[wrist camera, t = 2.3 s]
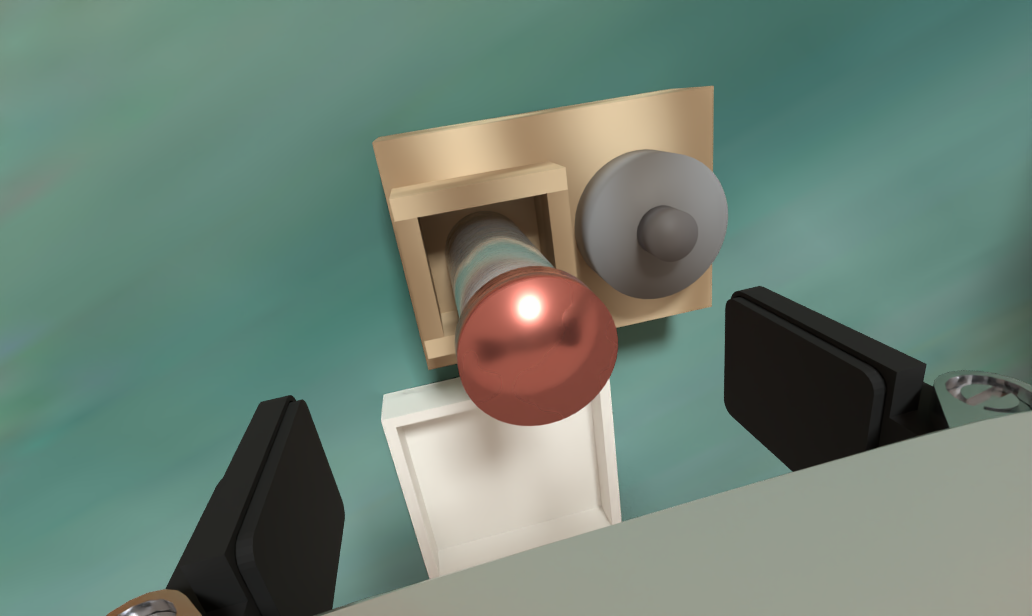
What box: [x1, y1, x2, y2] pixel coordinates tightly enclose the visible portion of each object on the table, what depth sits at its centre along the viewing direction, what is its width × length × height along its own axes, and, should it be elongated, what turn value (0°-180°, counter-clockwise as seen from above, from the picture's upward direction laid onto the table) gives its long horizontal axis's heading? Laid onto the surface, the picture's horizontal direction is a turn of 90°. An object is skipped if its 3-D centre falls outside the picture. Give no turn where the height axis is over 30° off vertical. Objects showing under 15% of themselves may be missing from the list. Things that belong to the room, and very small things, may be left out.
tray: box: [381, 377, 622, 579], centre depth 29 cm, size 12×12×2 cm
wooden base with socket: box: [372, 86, 728, 370], centre depth 22 cm, size 14×10×7 cm
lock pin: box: [445, 211, 618, 426], centre depth 17 cm, size 4×4×10 cm
